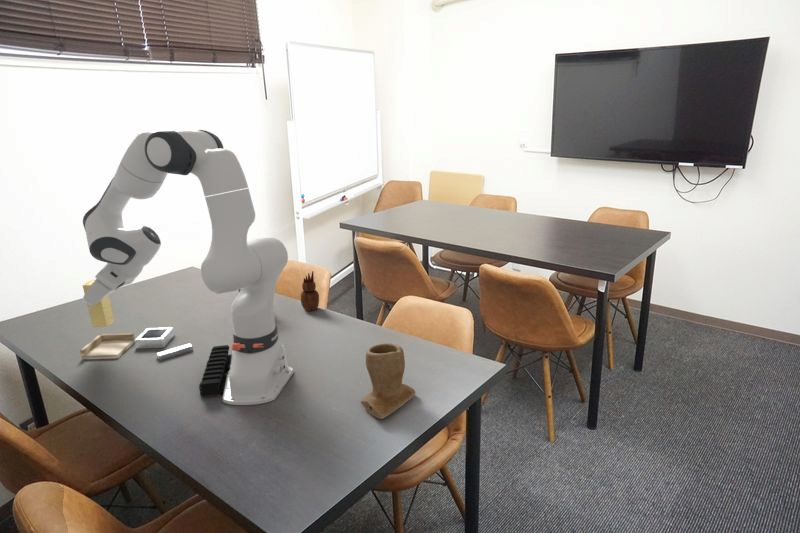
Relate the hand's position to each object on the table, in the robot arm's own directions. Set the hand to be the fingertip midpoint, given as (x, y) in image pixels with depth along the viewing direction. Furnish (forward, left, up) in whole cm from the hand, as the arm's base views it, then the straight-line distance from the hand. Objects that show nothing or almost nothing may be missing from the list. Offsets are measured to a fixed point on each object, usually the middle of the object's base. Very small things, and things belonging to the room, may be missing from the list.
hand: (96, 301), depth 151 cm
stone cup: (-34, -89, -17) cm, 97 cm away
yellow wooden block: (0, -1, -8) cm, 8 cm away
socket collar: (+5, -13, -17) cm, 22 cm away
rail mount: (-19, -41, -18) cm, 48 cm away
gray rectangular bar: (-4, -23, -17) cm, 29 cm away
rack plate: (0, -1, -17) cm, 17 cm away
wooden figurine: (+28, -61, -17) cm, 69 cm away
